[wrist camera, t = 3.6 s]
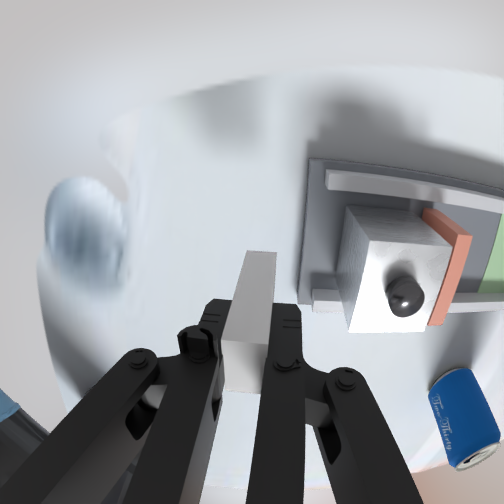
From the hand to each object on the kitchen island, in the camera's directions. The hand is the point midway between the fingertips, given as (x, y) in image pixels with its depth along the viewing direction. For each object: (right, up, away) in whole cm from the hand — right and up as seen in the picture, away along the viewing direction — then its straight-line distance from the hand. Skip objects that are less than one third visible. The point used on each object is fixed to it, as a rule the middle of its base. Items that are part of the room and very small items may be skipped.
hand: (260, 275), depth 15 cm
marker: (+12, +1, +4) cm, 13 cm away
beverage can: (+24, -15, +12) cm, 31 cm away
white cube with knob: (+8, +2, +4) cm, 9 cm away
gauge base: (+17, +2, +5) cm, 18 cm away
